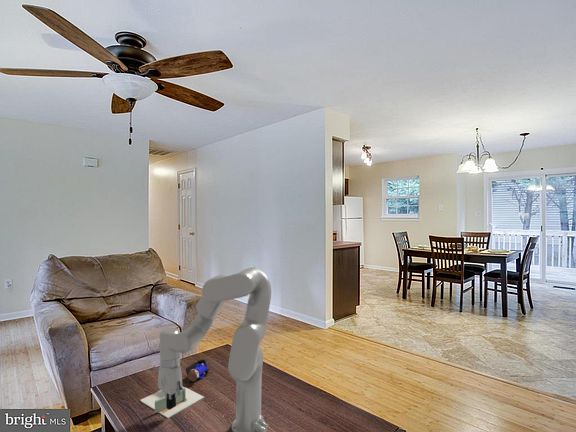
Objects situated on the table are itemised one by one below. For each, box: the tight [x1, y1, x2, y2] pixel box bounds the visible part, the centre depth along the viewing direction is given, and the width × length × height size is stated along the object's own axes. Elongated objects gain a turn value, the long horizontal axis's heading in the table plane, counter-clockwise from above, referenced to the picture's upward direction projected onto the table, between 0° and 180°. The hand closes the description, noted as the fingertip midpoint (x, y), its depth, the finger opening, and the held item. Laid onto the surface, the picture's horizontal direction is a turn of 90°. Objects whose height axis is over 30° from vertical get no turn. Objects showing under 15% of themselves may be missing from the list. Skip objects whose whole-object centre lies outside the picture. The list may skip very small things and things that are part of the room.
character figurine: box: [185, 358, 212, 384], centre depth 160 cm, size 8×7×15 cm
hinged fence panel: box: [154, 388, 186, 414], centre depth 136 cm, size 13×2×4 cm, turn 138°
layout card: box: [139, 385, 205, 419], centre depth 142 cm, size 20×18×1 cm
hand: (171, 407), depth 129 cm, fingers closed
